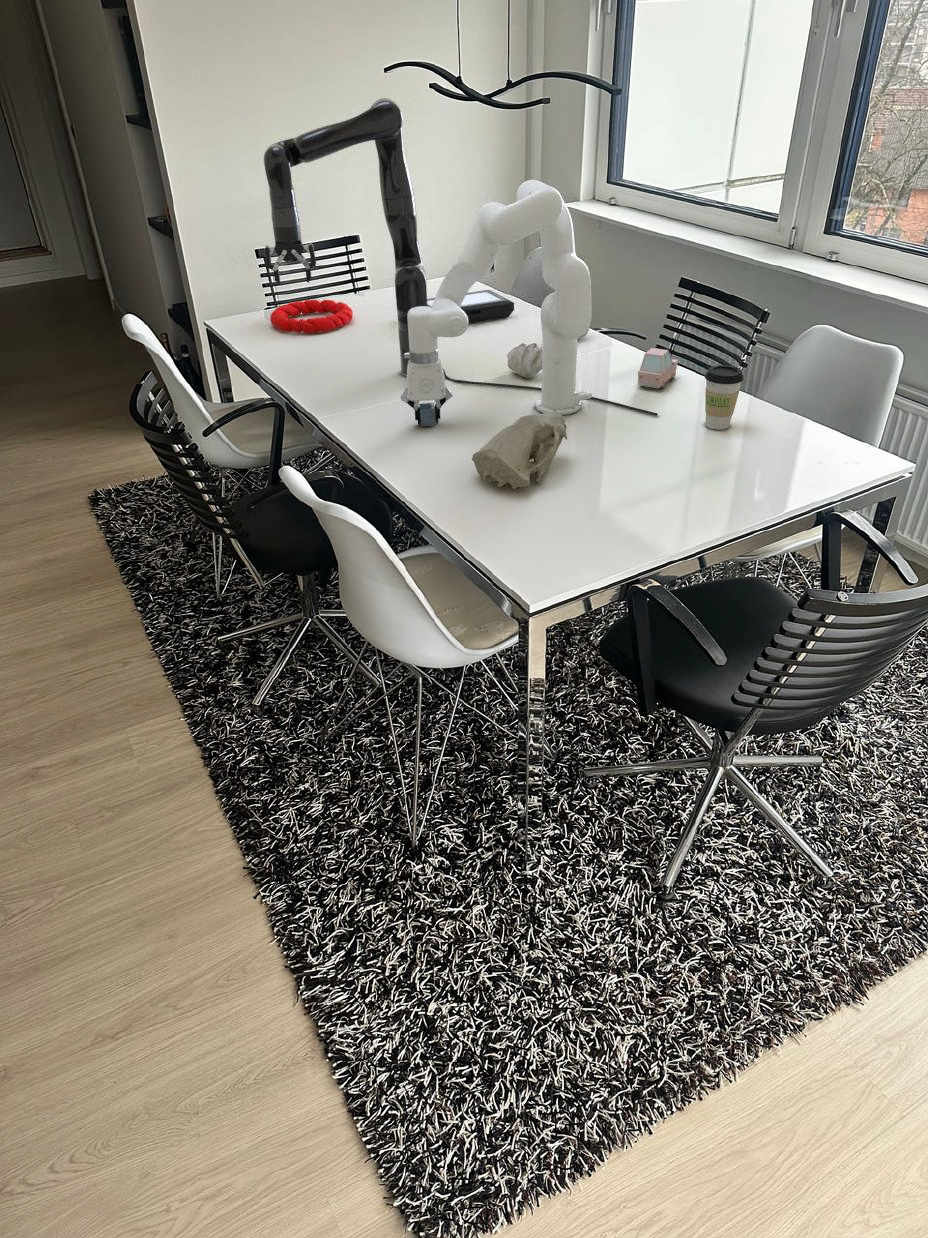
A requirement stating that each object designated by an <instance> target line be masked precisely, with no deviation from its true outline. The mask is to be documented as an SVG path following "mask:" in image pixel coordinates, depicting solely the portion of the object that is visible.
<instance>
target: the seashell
mask: <svg viewBox="0 0 928 1238" xmlns="http://www.w3.org/2000/svg"><path fill="white" fill-rule="evenodd" d="M542 350H543V348H542V347H540V346H539V345H538V344H537V343H536V342H533V343H530V344H526V343H521V344H519V345H518V346H515V347H513V348H511V350H510V351H508V353H507V355H506V356H507V367H508V369H510V370H511V371H513V372H515V373H517V374H518V375H519V376H521V377H522V378H526V379H531V378H534V376H536V375H537V374H538V373H539V372H540V371H542Z"/></svg>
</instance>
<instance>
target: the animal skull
mask: <svg viewBox="0 0 928 1238" xmlns="http://www.w3.org/2000/svg"><path fill="white" fill-rule="evenodd" d="M567 429H568V427H567V424H566V419H565V418H564V415H558V414H554V413H552V412H548V413H537V414H526V415H523V416H520V417H519V418H518V419H516V421H515V422H514V423H513V424H511V425H509V426H507V427H505V428H503V429H501V430H500V431H499V432H498V433H497V434H495V435H494V436H493V437H491V439H489V440H488V441H487V442H486V443H485V444H484V445H483V446H482V447H481V448H480V449H479V450H478V451H477V452H475V453H474V454H473V455H472V458H471V461H472V462H473V464H474V467H475V469H476V471H477V473H478V475H479V476H480V477H482V478H483V480H484V481H485V482H486V483H491V482H497V488H501V487H503V486H504V485H505V484H507V483H508V484H509V485H510V486H511V488H512V490H515V489H517V488H520V487H521V488H523V487H524V488H526V487H527V488H529V487H530V475H531V474H533V473H535V476H536V479H535V481H536V482H537V483H539V482H540V481H541V480H542V477H543V476H544V474H545V473H546V472H547V471H548V468H549V466H550V465H551V463H552V462H553V460H554V459H555V456H556V454H557V452H558V450H559V447H560V446H561V444H562V442H563V440H568V434H567Z"/></svg>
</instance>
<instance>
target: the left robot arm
mask: <svg viewBox="0 0 928 1238" xmlns="http://www.w3.org/2000/svg"><path fill="white" fill-rule="evenodd" d="M403 123H404V117H403V113H402V110H401V107H400V106H399V105H398V104H397V102H395V101H394V100H392V99H391V98H387V97H381V98H378V99H377V100H375V101H374V102H373V103H372V104H371V105H370V107H369V108H368V109H366V110H365V111H363V112H361V113H360V114H358V115H356V116H353V117H351V118H348V119H346V120H343V121H339V122H335V123H331V124H326V125H323V126H321V127H317V128H314V129H313V130H310V131H307V132H304V133H301V134H300V135H297V136H295V137H292V138H288V139H284V140H283V139H282V140H280V141H277V142H274V143H272V144H270V145H269V146H268V147H267V148H266V150H265V151H264V155H263V163H264V164H263V165H264V171H265V177H266V180H267V184H268V194H269V201H270V210H271V211H270V213H271V214H270V215H271V222H272V229H273V236H274V242H275V243H274V246H270V245H265V247H264V254H265V265H266V269H268V270H271V271H272V272H273V276H274V277H273V278H274V281H275V283H276V284H277V285H280V284H281V278H280V277H281V276H280V270H279V267H280V265H281V264H282V263H283V262H285V263H289V262H297V261H299V263H300V264H302V266H303V267H305V278H306V283H310V282H311V281H312V271H311V270H312V269H311V268H315V267H316V266H317V259H316V253H315V249H314V247H315V246H314V244H313V243H308V244H304V243H303V241H302V233H301V226H300V217H299V211H298V207H297V201H296V194H295V193H296V192H295V188H294V185H293V180H292V171H291V168H293V167H295V166H299V165H301V164H308V163H312V162H314V161H317V160H320V159H323V158H326V157H328V156H330V155H333V154H336V153H338V152H340V151H343V150H346V149H348V148H350V147H353V146H356V145H360V144H363V143H366V142H372V141H374V143H375V148H376V154H377V158H378V173H379V175H378V176H379V187H380V196H381V203H382V209H383V213H384V218H385V222H386V226H387V229H388V232H389V235H390V238H391V241H392V246H393V254H394V267H395V268H394V270H395V271H394V291H395V302H396V303H395V304H396V305H395V306H396V313H397V328H398V329H397V330H398V343H399V358H400V374H401V375H402V376H404V377H406V378H407V366H408V361H409V358H405V356H404V353H407V352H409V351H410V350H409V349H410V348H409V333H408V319H407V315H408V311H409V310H410V309H412V308H414V307H419V306H427V299H428V292H427V291H428V290H427V289H428V287H427V275H426V270H425V267H424V264H423V260H422V257H421V252H420V251H421V250H420V247H419V242H418V220H417V219H418V218H417V209H416V201H415V194H414V188H413V183H412V179H411V175H410V170H409V168H408V164H407V161H406V157H405V152H404V144H403V142H404V141H403V129H402V127H403ZM304 250H305V251H306V252H307V253H308V254H309V258H310V262H309V261H308V259H306V258H305V256H304V255H303V252H304ZM273 252H275V253H276V255H278V257H277V259H276V260H275V263H272V258H271V255H273ZM443 371H444V379H446V380H448V381H451V382H453V383H459V384H460V383H462V384H467V385H476V386H477V385H478V386H479V385H480V386H491V387H502V388H514V389H524V390H534V391H541V392H542V387H536V386H529V385H519V384H518V385H517V384H509V383H496V382H482V381H471V380H463V379H452V378H450V377H449V376H448V375H447V373H446V370H445V368H443ZM590 400H593V401H597V402H601V403H605V404H608V405H613V406H617V407H621V408H624V409H628V410H632V411H636V412H639V413H643V414H647V415H651V416H655V417H658V414H659V413H657V412H653V411H649V410H646V409H642V408H638V407H634V406H630V405H627V404H623V403H619V402H615V401H611V400H607V399H603V398H599V397H594V396H591V399H590Z"/></svg>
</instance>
